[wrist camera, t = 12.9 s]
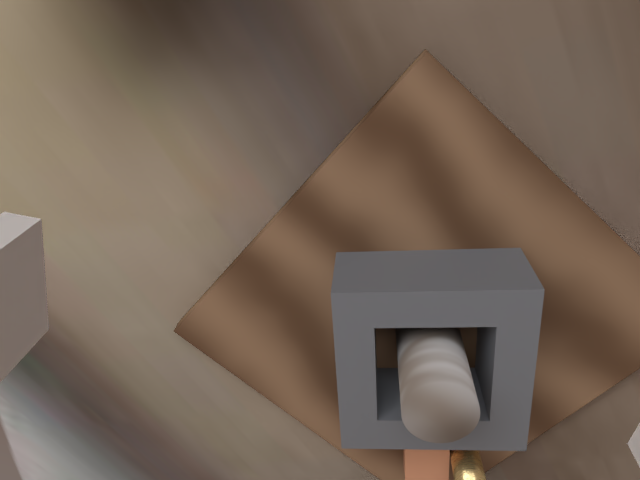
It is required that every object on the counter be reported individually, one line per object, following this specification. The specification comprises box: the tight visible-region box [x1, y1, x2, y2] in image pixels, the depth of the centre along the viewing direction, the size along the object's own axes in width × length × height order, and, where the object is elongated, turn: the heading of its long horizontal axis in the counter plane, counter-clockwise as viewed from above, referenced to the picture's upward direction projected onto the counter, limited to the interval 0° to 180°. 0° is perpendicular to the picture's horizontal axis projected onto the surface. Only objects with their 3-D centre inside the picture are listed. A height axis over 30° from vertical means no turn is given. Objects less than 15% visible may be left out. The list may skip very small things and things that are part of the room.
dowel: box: [450, 450, 486, 480], centre depth 37 cm, size 2×2×5 cm
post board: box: [174, 49, 640, 480], centre depth 32 cm, size 24×24×9 cm
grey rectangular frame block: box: [331, 248, 545, 480], centre depth 34 cm, size 17×11×5 cm, turn 4°
